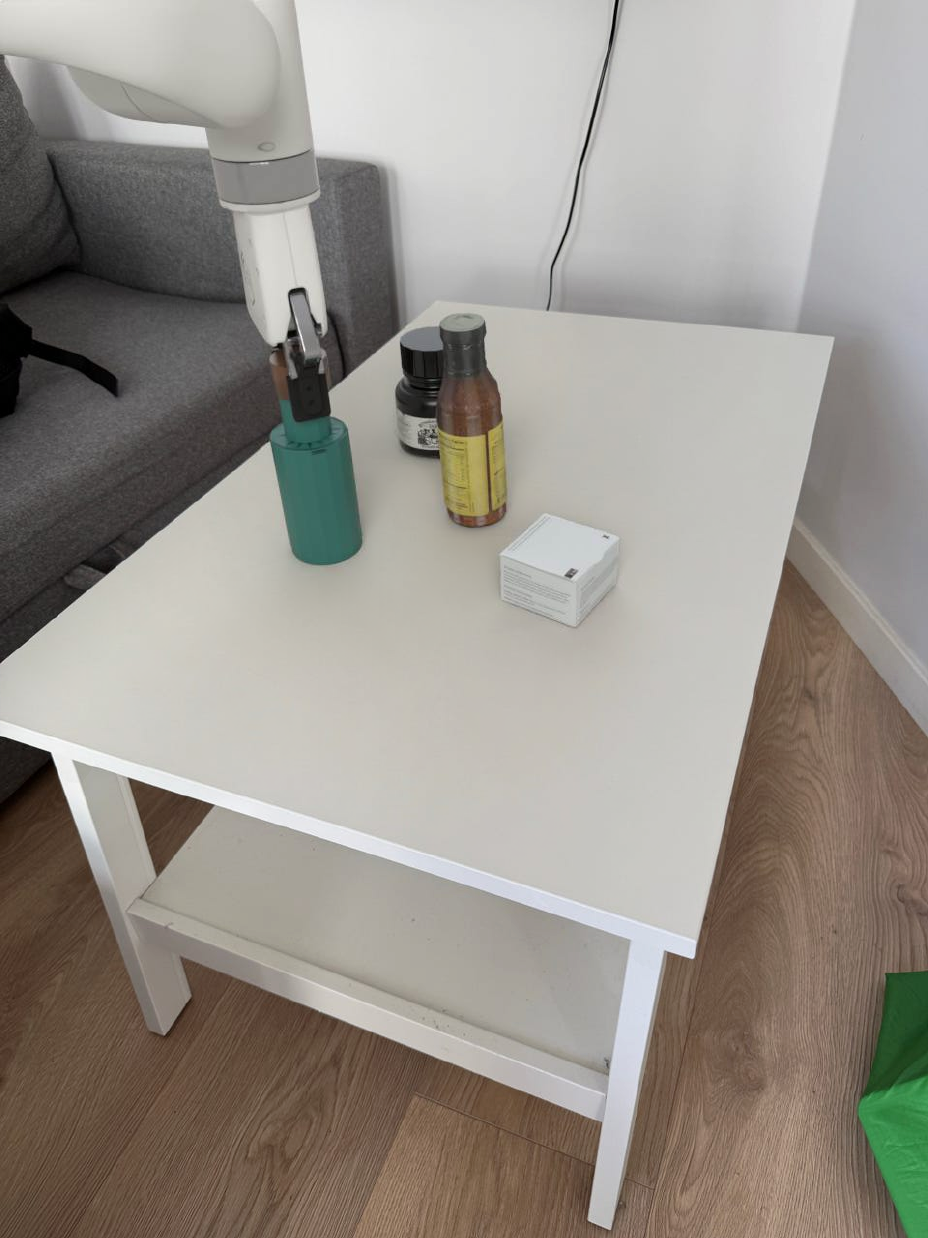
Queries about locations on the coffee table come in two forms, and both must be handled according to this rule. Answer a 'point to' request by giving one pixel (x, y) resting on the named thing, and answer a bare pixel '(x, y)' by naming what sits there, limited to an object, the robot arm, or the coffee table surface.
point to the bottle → (317, 487)
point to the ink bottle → (420, 390)
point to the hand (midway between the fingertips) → (304, 402)
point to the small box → (559, 569)
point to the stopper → (281, 371)
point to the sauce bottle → (470, 426)
